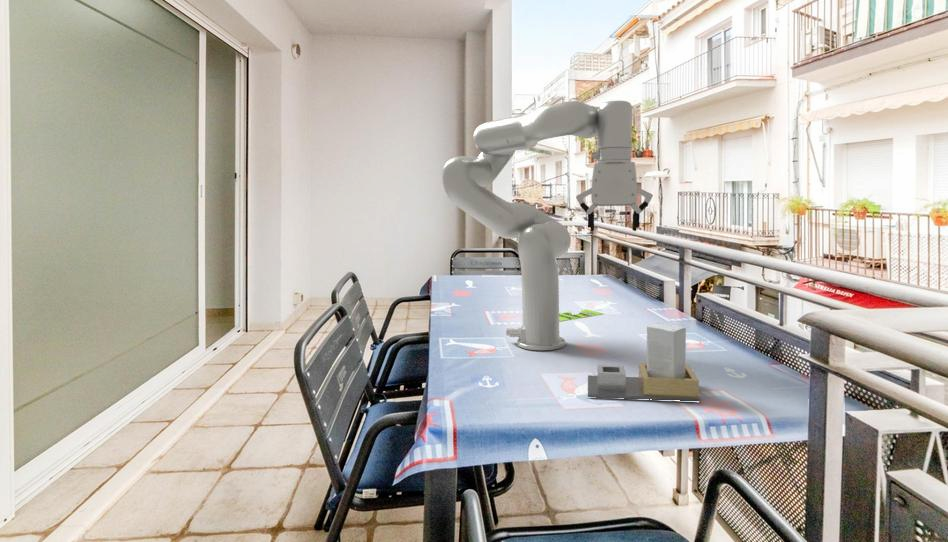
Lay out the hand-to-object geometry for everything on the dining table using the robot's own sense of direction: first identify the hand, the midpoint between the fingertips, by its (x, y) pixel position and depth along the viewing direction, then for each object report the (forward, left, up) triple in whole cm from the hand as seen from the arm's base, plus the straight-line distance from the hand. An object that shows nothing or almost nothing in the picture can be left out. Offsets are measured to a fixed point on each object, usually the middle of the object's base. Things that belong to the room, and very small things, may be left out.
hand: (613, 230), depth 124 cm
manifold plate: (+4, -25, -30) cm, 39 cm away
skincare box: (+9, -25, -29) cm, 39 cm away
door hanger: (-13, +41, -31) cm, 53 cm away
